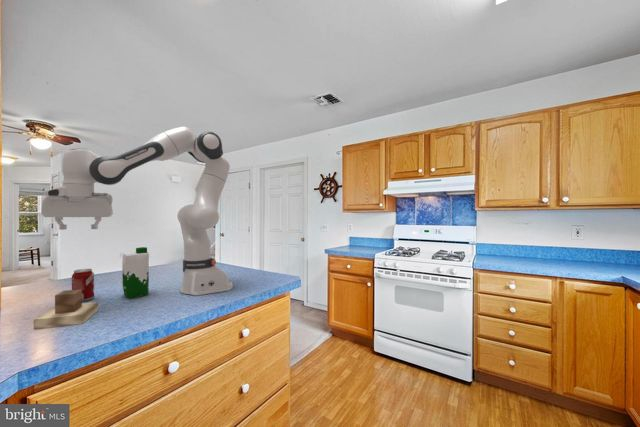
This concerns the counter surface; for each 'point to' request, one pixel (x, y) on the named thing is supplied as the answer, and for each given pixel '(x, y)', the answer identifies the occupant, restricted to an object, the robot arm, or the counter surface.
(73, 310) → the walnut block
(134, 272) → the milk carton
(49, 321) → the maple plinth
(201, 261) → the robot arm
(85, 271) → the soda can
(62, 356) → the counter surface
